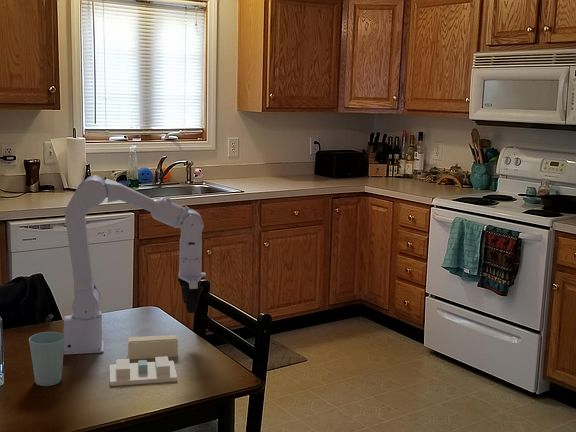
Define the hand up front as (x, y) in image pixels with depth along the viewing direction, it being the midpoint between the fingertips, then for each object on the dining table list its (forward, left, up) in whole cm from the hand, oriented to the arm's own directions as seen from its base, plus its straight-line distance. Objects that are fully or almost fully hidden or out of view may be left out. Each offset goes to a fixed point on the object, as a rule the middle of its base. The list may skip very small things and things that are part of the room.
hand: (189, 307), depth 179 cm
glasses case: (-10, -6, -10) cm, 15 cm away
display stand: (-13, -18, -10) cm, 24 cm away
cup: (-34, -18, -10) cm, 40 cm away
